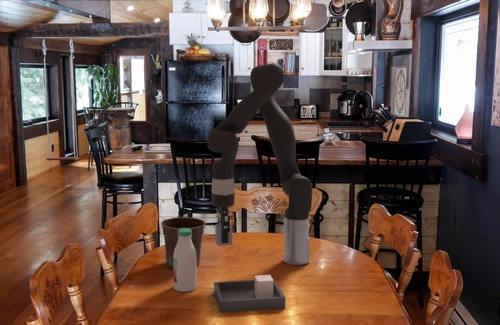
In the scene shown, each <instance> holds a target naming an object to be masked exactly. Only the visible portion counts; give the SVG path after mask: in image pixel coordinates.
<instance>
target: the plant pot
mask: <svg viewBox="0 0 500 325" xmlns="http://www.w3.org/2000/svg"><path fill="white" fill-rule="evenodd" d="M160 226H161V228H162V234H163V237H164V247H165V248H164V249H165V250H164V251H165V259H166V260H165V262H166V266H167V267H168V268H173V255H174V250H175V247H176V245H177V242H178V230H179V229H182V228H188V229H191V230H192V237H191V240H192V243H193V246H194V248H195V250H196V258H197V267H199V265H200V262H201V261H200V260H201V251H202V250H201V249H202V241H203V235H204V231H205V230H204V229H205V226H206V221H205V220H203V219H201V218H197V217H192V216H191V217H188V216H181V217H180V216H179V217H178V216H177V217H176V216H175V217H170V218H166V219H163V220H162V221H161V222H160Z"/></svg>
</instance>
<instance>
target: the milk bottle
mask: <svg viewBox="0 0 500 325" xmlns="http://www.w3.org/2000/svg"><path fill="white" fill-rule="evenodd" d="M191 237H192V230H191V229H188V228H182V229H179V230H178V242H177V245H176V247H175V250H174V255H173V267H172V271H173V272H172V274H173V275H172V278H173V279H172V280H173V282H172V283H173V289H174V290H175V291H176V292H183V293H186V292H188V293H189V292H192V291H194V290H196V288H197V287H198V286H197V285H198V276H197V275H198V273H197V272H198V270H197V269H198V266H197V258H196V250H195V248H194V246H193V243H192V240H191Z"/></svg>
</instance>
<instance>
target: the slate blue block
mask: <svg viewBox="0 0 500 325" xmlns="http://www.w3.org/2000/svg"><path fill="white" fill-rule="evenodd" d="M214 226H215V227H214V232H215V234H214V235H215V238H214V239H215V243H216V247H222V246H223V247H224V246H225V247H227V246H233V227H232V225H231V224H230V232H228V243H224V244H223V243H222V235H221V226H220V225H219V224H218V223H216V224H215V225H214ZM226 228H227V226H224V229H226Z"/></svg>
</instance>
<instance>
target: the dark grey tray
mask: <svg viewBox="0 0 500 325" xmlns="http://www.w3.org/2000/svg"><path fill="white" fill-rule="evenodd" d="M272 279H273V281H274V282H273V297H267V298H256V295H255V279H244V280H243V279H242V280H228V281H226V280H225V281H224V280H223V281H214V282H213V295H214V296H215V300H216V304H217V307H218V311H219V313H221V314H223V313H224V314H225V313H236V312H237V313H239V312H254V311H255V312H256V311H266V310H284V309H286V297H285V295H284V293H283V291H282V289H281V288H280V286H279V284H278V283H277V281H276V280H275V278H272Z"/></svg>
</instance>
